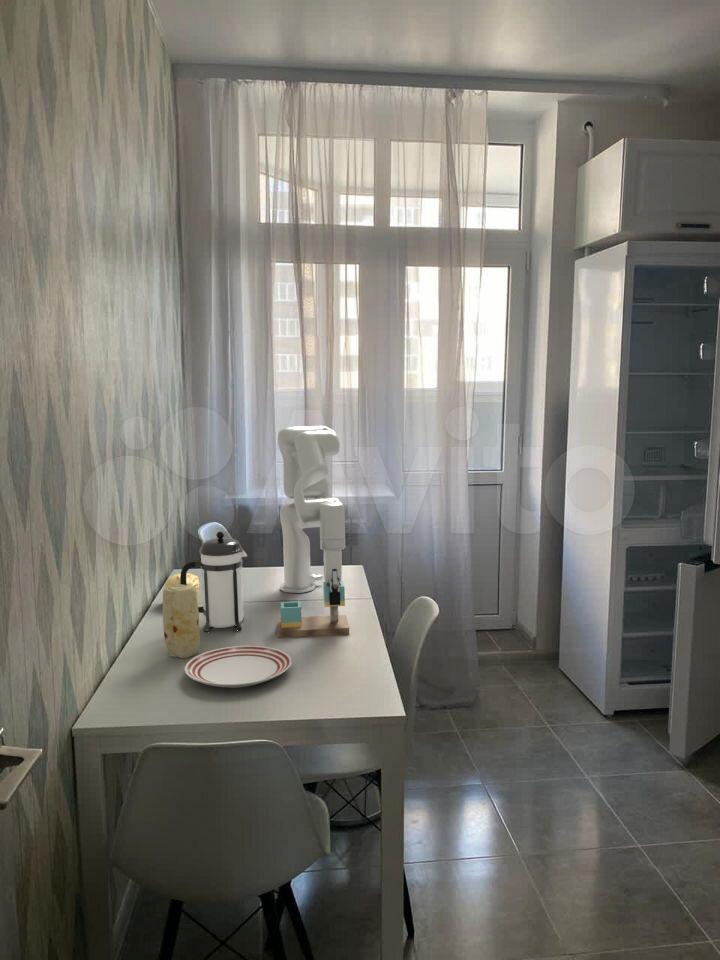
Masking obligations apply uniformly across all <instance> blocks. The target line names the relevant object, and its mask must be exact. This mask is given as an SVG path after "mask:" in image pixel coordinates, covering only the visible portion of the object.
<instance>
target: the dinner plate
mask: <svg viewBox="0 0 720 960" xmlns="http://www.w3.org/2000/svg"><path fill="white" fill-rule="evenodd" d="M291 665H292V657H290V655H289V654H288V653H286V652H284V651H282V650H280V649H278V648H274V647H269V646H268V647H267V646H263V645H235V646H226V647H222V648H221V647H219V648H216V649H211V650H208V651H205V652H202V653H200V654H198V655H196V656H193V658H191V659H190V660H189V661H187V663H186V664H185V666H184V672H185V674H186V676H187V677H189V678H190V679H191V680H193V681H196V682H198V683H200V684H204V685H206V686H212V687H219V688H225V687H227V688H226V689H232V688H233V689H237V688H246V687H251V686H256V685H258V684H259V685H260V684H262V683H265V682H267V681H271V680H273V679H275V678H277V677H279V676H280V675H282V674H283V673H285V672H286V671H287V670H288V669H290V667H291Z"/></svg>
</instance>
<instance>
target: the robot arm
mask: <svg viewBox="0 0 720 960" xmlns="http://www.w3.org/2000/svg"><path fill="white" fill-rule="evenodd" d="M277 445H278V449H279V452H280V453H281V456H282V461H283V464H282V465H283V491H284V495H285V497H286V498H287V499H291V500H293V501H291V502H290V501H289V502H287V503H285V504H283V505H282V506H281V507H280V509H279V519H280V525H281V531H282V532H281V533H282V545H283V546H282V547H283V577H284V579H283V580H284V582H283V583H281V584H280V586H279V588H280V590H281V591H282V592H284V593H290V594H301V593H302V594H303V593H308V592H312V591H313V590H315V589H316V583H315V582H317V581H321V580H323V579H324V582H326V583H327V582H330V592H329V601H330V605H340V591H339V583H340V582H341V581H342V577H343V575H342V573H343V569H342V568H343V567H342V566H343V563H342V561H343V560H342V559H343V558H342V555H343V554H342V550H345V549H346V516H345V515H346V514H345V510H346V509H345V506H344V504H343V502H341V501H340V499H339V498H337V497H330V488H329V487H330V485H329V479H328V474H329V467H328V463H327V460H326V457H329V456H330V457H332V456H336V455H337V454H338V453H339V451H340V448H341V447H340V446H341V445H340V439H339V436H338V434H337V433H336V432H335V430H333V429H332V428H329V427H328V426H326V425H315V426H314V425H312V426H309V425H308V426H291V427H283V428H282V429H280V430H279V431H278V434H277ZM307 528H319V540H320V541H319V545H320V546H319V547H320V550H323V575H322V574H311V541H310V538H309V536H308V535H307V534H306V533H305V532H304V531H303V530H304V529H307ZM332 584H333V585H332Z"/></svg>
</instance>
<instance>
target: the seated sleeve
mask: <svg viewBox="0 0 720 960" xmlns="http://www.w3.org/2000/svg"><path fill="white" fill-rule="evenodd" d="M301 617H302V602H301V600H298V601H297V600H296V601H282V602H280V618H281V626H282V628H286V627H302V620H301Z"/></svg>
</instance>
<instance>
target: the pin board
mask: <svg viewBox="0 0 720 960" xmlns="http://www.w3.org/2000/svg"><path fill="white" fill-rule="evenodd" d="M329 611H330V612H329V615H315V616H301V620H302V627H286V628H282V626H281V617H278V618H277V630H278V631H277V633H278V634H277V636H278V638H279V639H282V638H283V639H285V638H297V637H298V638H299V637H300V638H302V636H304V637H319V636H320V637H321V636H323V637H325V636H338V635H341V636H342V634H343V635H350V625H349V622H348V618H347V614H339V606H332V607H329Z"/></svg>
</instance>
